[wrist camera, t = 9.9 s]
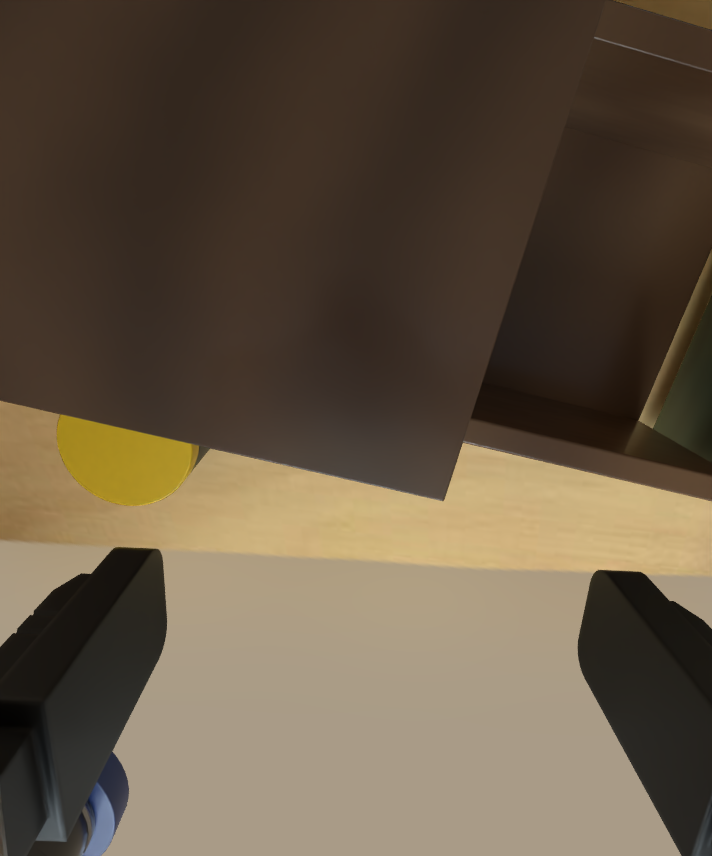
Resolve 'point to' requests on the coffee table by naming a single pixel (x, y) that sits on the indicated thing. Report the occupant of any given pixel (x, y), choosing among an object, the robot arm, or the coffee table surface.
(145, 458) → the cap
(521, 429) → the drawer
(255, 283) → the cabinet
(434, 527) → the coffee table surface
